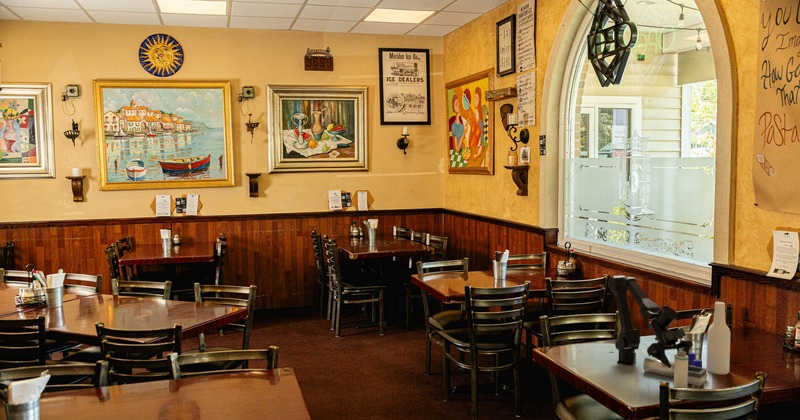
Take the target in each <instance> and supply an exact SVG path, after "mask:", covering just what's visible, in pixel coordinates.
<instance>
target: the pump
mask: <svg viewBox="0 0 800 420" xmlns="http://www.w3.org/2000/svg"><path fill="white" fill-rule="evenodd" d="M673 358H674V361H673V362H674V377H673V388H674V389H675V388H687V389H688V383H687V382H688V356H687V355H686V352H685V351H677V350H676V354H674V357H673Z"/></svg>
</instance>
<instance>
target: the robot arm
mask: <svg viewBox="0 0 800 420" xmlns="http://www.w3.org/2000/svg"><path fill="white" fill-rule="evenodd" d="M607 285H608V288H609V291H610V292H611V293H612V295H613V296H614V299H615V302H616V307H617V313H618V318H619V324H620V331H619V334H618V340H617V341H616V342H615V343H614V346H615V349H617V350H618V358H617V359H618V360H617V361H616V363H618V364H622V365H628V366H632V365H634V364H635V363H637V353H636V350H639V347H640V345H641V336H640V330H639V329H638V328H637V329H636V328H635V327H634V325H633V321H632V317H631V316H632V315H631V312H630V306H629V302H628V296H627V293H630V295H631V296H632V298H633V299H634V300H635V302H636V304H637V305H638V308H639V309H638V311H639V313H640V315H641V317H642V319H643V320H646V321H648V324H647V330H649V329H651V330H652V332H653V333H654V335H655V338H654V340H655V341H656V342H652V343H651V344H650V345H649V346H648V347H647V349H646V353H647V355H648V356H649V357H651V358H654V359H658V360H659V361H661V362H662V363H663V364H665V365H666V366H667V367H669V368H670V367H671V365H670V362H671V361H669V358H668V357H667V355H666V351H670V350H676V352H677V351H685V352H686V355H687V356H688V366H689V365H690V359H689V353H690V350H691V349H692V347H693V346H694V344H693V342H692V340H691V339H684V337H685V336H686V332H685V330H684V328H678V329H676V330H669V328H668V327H669V326H670V325H671V324H672V323H673V322H674V321H676V319H677V318H678V313H677V311H676V310H674V309H673V308H672V307H670V306H669V305H663V306H662V307H660V306H659V305H658V304H657V303H656V302H654V301H653V300H651V299H650V298H649V297H648V296H647V294H646V293H645V292H644V290H643V289H642V287H641V286H640V285H639V284H638V282H637V278H636V277H633V276H629V277H627V276H625V275H611V276H610V277H609V278H608V280H607ZM650 320H651V321H650ZM680 339H681V341H679V340H680ZM657 341H658V342H657ZM678 342H679V343H678Z"/></svg>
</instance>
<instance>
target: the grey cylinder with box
mask: <svg viewBox="0 0 800 420" xmlns="http://www.w3.org/2000/svg"><path fill="white" fill-rule="evenodd" d="M669 362H670V365H671V367H670V368H669V367H667V366H666V365H665V364H663V363H662V362H661V361H659V360H658V359H656V358H653V357H645V358H644V360H643V367H642V368H643V371H644V372H646V373H651V374H656V375H661V376H666V377H670V378H674V361H673V362H672V361H669ZM707 372H708V370H707V369H706V368H705V367H702V368H700V367H695V366H688V382H687V384H690V385H695V386H699V387H701V386H702V385H704V383H705V382H706V381H708V373H707Z"/></svg>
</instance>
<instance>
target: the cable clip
mask: <svg viewBox="0 0 800 420" xmlns="http://www.w3.org/2000/svg"><path fill="white" fill-rule="evenodd" d="M689 359H690V365H689V366H695V367H700V368H703V367H702V366H703V364H702V363H703V361H702V360H701V359H696V353H695V352H689Z"/></svg>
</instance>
